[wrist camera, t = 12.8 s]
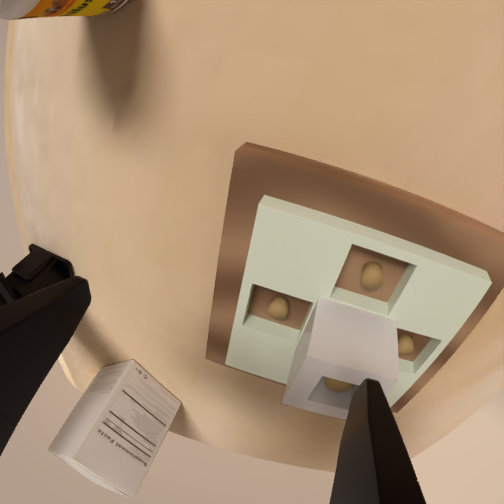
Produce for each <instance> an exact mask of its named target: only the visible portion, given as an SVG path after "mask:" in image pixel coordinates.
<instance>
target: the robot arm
mask: <svg viewBox="0 0 504 504" xmlns="http://www.w3.org/2000/svg"><path fill="white" fill-rule="evenodd" d="M29 251H30V254H28V255H27V256H26V257H25V258H24V259H22V260H21V261H20V262H19V263H18V264H17V265H15V266H14V267H13V268H12V272H11V273H10V274H9V275H8V276H7V277H6V278H5V276H4V274H3V273H2V272H1V273H0V456H1V454H2V452H3V450H4V448H5V446H6V444H7V443H8V441H9V439H10V437H11V435H12V433H13V431H14V430H15V427H16V426H17V424H18V422H19V421H20V419H21V417H22V415H23V414H24V412H25V410H26V409H27V407H28V405H29V403H30V402H31V400H32V398H33V397H34V395H35V393H36V392H37V390H38V388H39V387H40V385H41V384H42V382H43V381H44V379H45V377H46V376H47V374H48V373H49V371H50V370H51V368H52V366H53V365H54V363H55V362H56V360H57V359H58V357H59V356H60V354H61V353H62V351H63V350H64V348H65V347H66V345H67V344H68V342H69V341H70V339H71V337H72V336H73V334H74V332H75V330H76V328H77V326H78V325H79V323H80V321H81V319H82V317H83V316H84V314H85V312H86V310H87V308H88V307H89V305H90V302H91V294H90V289H89V284H88V281H87V280H86V279H84V278H82V277H80V276H74V277H73V274H72V270H71V265H70V263H69V262H68V261H67V260H66V259H64V258H61V257H59V256H57V255H55V254H53V253H51V252H49V251H46V250H44V249H42V248H40V247H38V246H36V245H34V244H31V245H30V246H29ZM330 504H426V502H425V499H424V496H423V493H422V491H421V488H420V485H419V482H417V477H416V474H415V471H414V469H413V466H412V463H411V460H410V457H409V455H408V452H407V449H406V447H405V444H404V441H403V439H402V436H401V434H400V431H399V429H398V426H397V423H396V421H395V418H394V416H393V413H392V411H391V408H390V406H389V404H388V401H387V399H386V396H385V394H384V391H383V389H382V387H381V384H380V382H379V381H377V380H374V379H370V378H366V379H364V380H363V382H362V383H361V384H360V385H359V387H358V388H357V389H356V390H355V392H354V394H353V396H352V399H351V403H350V407H349V411H348V415H347V419H346V423H345V427H344V431H343V435H342V439H341V443H340V448H339V454H338V461H337V467H336V472H335V478H334V483H333V489H332V494H331V499H330Z"/></svg>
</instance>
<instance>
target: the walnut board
mask: <svg viewBox="0 0 504 504" xmlns="http://www.w3.org/2000/svg"><path fill="white" fill-rule="evenodd" d="M264 195H267V196H270V197H274V198H277V199H280V200H284V201H287V202H291V203H294V204H297V205H300V206H304V207H307V208H310V209H313V210H317V211H320V212H323V213H326V214H329V215H333V216H336V217H339V218H342V219H345V220H348V221H351V222H354V223H357V224H360V225H363V226H366V227H369V228H372V229H375V230H378V231H381V232H384V233H387V234H389V235H392V236H395V237H398V238H401V239H404V240H406V241H409V242H412V243H415V244H418V245H420V246H423V247H426V248H428V249H431V250H434V251H437V252H439V253H442V254H445V255H447V256H450V257H452V258H455V259H458V260H460V261H463V262H465V263H468V264H470V265H473V266H475V267H478V268H480V269H483V270H485V271H487V273H488V275H489V277H490V279H491V282H492V284H491V286H490V287H489V289H488V290H487V292H486V293H485V295H484V296H483V298H482V299H481V301H480V302H479V303H478V305H477V306H476V308H475V309H474V310H473V312H472V313H471V315H470V316H469V317H468V319H467V320H466V321H465V323H464V324H463V325H462V327H461V328H460V329H459V331H458V332H457V333H456V335H455V336H454V337H453V338H452V340H451V341H450V342H449V343H448V345H447V346H446V347H445V348H444V350H443V351H442V352H441V353H440V354H439V356H438V357H437V358H436V359H435V360H434V361H433V363H432V364H431V365H430V366H429V367H428V368H427V369H426V371H425V372H424V373H423V374H422V375H421V376H420V377H419V378H418V379H417V381H416V382H415V383H414V384H413V385H412V386H411V387H410V388H409V389H408V390H407V391H406V392H405V393H404V394H403V395H402V396H401V397H400V398H399V399H398V400H397V401H396V402H395V403H394V404H393V405H392V406H391V407H390V408H391V411H392V412H396V413H397V412H398V411H399V410H400V409H401V408H403V407H404V406H405V405H406V404H407V403H408V402H409V401H410V400H411V399H412V398H413V397H414V396H415V395H416V394H417V393H418V392H419V391H420V390H421V389H422V388H423V387H424V386H425V385H426V384H427V383H428V381H429V380H430V379H431V378H432V377H433V376H434V375H435V374H436V373H437V372H438V371H439V370H440V368H441V367H442V366H443V365H444V364H445V363H446V362H447V361H448V359H449V358H450V357H451V356H452V355H453V354H454V352H455V351H456V350H457V349H458V348H459V346H460V345H461V344H462V343H463V342H464V340H465V339H466V338H467V337H468V335H469V334H470V333H471V332H472V330H473V329H474V328H475V326H476V325H477V324H478V322H479V321H480V320H481V318H482V317H483V316H484V314H485V313H486V312H487V310H488V309H489V308H490V306H491V305H492V303H493V302H494V300H495V299H496V298H497V296H498V295H499V293H500V292H501V290H502V289H503V287H504V233H502V232H500V231H498V230H496V229H494V228H492V227H490V226H488V225H486V224H483V223H481V222H479V221H477V220H475V219H472V218H470V217H468V216H466V215H463V214H461V213H459V212H457V211H454V210H452V209H449V208H447V207H445V206H442V205H440V204H437V203H435V202H433V201H430V200H428V199H425V198H422V197H420V196H417V195H415V194H412V193H410V192H407V191H404V190H402V189H399V188H396V187H393V186H391V185H388V184H385V183H382V182H380V181H377V180H374V179H371V178H368V177H365V176H362V175H359V174H356V173H353V172H350V171H347V170H344V169H341V168H338V167H334V166H331V165H328V164H325V163H321V162H318V161H315V160H311V159H308V158H305V157H301V156H298V155H294V154H290V153H287V152H283V151H279V150H276V149H272V148H268V147H264V146H260V145H256V144H252V143H248V142H246V143H245V144H243V145H242V146H241V147H240V148H238V149H237V150H236V151H235V156H234V162H233V168H232V174H231V180H230V187H229V193H228V199H227V206H226V212H225V219H224V225H223V232H222V238H221V245H220V252H219V259H218V266H217V273H216V280H215V288H214V295H213V303H212V310H211V318H210V326H209V333H208V341H207V350H206V358H205V359H208V360H210V361H213V362H216V363H219V364H221V365H224V366H227V367H230V368H233V369H236V370H239V371H241V372H244V373H247V374H250V375H254V376H257V377H260V378H263V379H266V380H269V381H272V382H276V383H279V384H282V385H286V384H284V383H280V382H277V381H274V380H271V379H267V378H264V377H261V376H258V375H255V374H252V373H249V372H246V371H243V370H240V369H237V368H234V367H231V366H228V365H226V364H225V361H226V357H227V352H228V347H229V342H230V337H231V333H232V328H233V323H234V318H235V314H236V309H237V304H238V299H239V294H240V290H241V285H242V280H243V275H244V271H245V266H246V261H247V256H248V252H249V247H250V242H251V238H252V233H253V228H254V223H255V219H256V214H257V209H258V204H259V202H260V201H261V199H262V198H263V196H264ZM408 264H409V263H408V262H405V261H402V260H399V259H396V258H393V257H390V256H387V255H384V254H382V253H379V252H376V251H373V250H370V249H366V248H363V247H360V246H357V245H354V244H352V245H351V248H350V250H349V253H348V255H347V257H346V260H345V262H344V265H343V267H342V269H341V272H340V274H339V276H338V279H337V281H336V283H335V287H338V288H342V289H345V290H348V291H351V292H354V293H358V294H361V295H364V296H367V297H371V298H374V299H377V300H380V301H383V302H388V300H389V299H390V297H391V295H392V294H393V292H394V290H395V288H396V286H397V285H398V283H399V281H400V279H401V277H402V275H403V274H404V272H405V270H406V268H407V266H408ZM310 305H311V302H309V301H306V300H303V299H300V298H297V297H293V296H290V295H287V294H284V293H281V292H278V291H274V290H271V289H268V288H265V287H262V286H259V285H256V284H254V288H253V292H252V296H251V300H250V304H249V308H248V312H247V314H250V315H253V316H257V317H260V318H263V319H266V320H269V321H272V322H275V323H278V324H281V325H285V326H288V327H291V328H294V329H297V330H300V328H301V326H302V324H303V321H304V319H305V317H306V314H307V312H308V309H309V307H310ZM397 339H398V358H400V359H404V360H408V361H412V362H413V361H414V360H415V359H416V358H417V356H418V355H419V354H420V353H421V351H422V350H423V349H424V348H425V346H426V345H427V344H428V342H429V341H430V340H431V339H432V338H431V337H428V336H424V335H421V334H417V333H414V332H410V331H407V330H403V329H400V328H397ZM324 385H325V387H326V388H327V389H329V390H331V391H334V392H345V391H348V390H350V389H351V388H352V386H353V384H351V383H347V382H343V381H339V380H336V379H332V378H328V377H325V382H324Z"/></svg>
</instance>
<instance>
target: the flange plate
mask: <svg viewBox="0 0 504 504" xmlns="http://www.w3.org/2000/svg"><path fill="white" fill-rule="evenodd" d="M352 244H354V245H357V246H360V247H363V248H366V249H370V250H373V251H376V252H379V253H382V254H384V255H387V256H390V257H393V258H396V259H399V260H402V261H405V262H408V263H409V264H408V266H407V268H406V270H405V272H404V274H403V275H402V277H401V279H400V281H399V283H398V285H397V286H396V288H395V290H394V292H393V294H392V295H391V297H390V299H389V300H388V302H383V301H380V300H377V299H374V298H371V297H367V296H364V295H361V294H358V293H354V292H351V291H348V290H345V289H342V288H338V287H335V283H336V281H337V279H338V276H339V274H340V272H341V269H342V267H343V265H344V262H345V260H346V257H347V255H348V253H349V250H350V248H351V245H352ZM254 284H256V285H259V286H262V287H265V288H268V289H271V290H274V291H278V292H281V293H284V294H287V295H290V296H293V297H297V298H300V299H303V300H306V301H309V302H311V305H310V307H309V309H308V312H307V314H306V317H305V319H304V321H303V324H302V326H301V328H300V330H297V329H294V328H291V327H288V326H285V325H281V324H278V323H275V322H272V321H269V320H266V319H263V318H260V317H257V316H253V315H250V314H247V312H248V308H249V304H250V300H251V296H252V292H253V288H254ZM491 284H492V282H491V279H490V277H489V275H488V273H487V271H485V270H483V269H480V268H478V267H475V266H473V265H470V264H468V263H465V262H463V261H460V260H458V259H455V258H452V257H450V256H447V255H445V254H442V253H439V252H437V251H434V250H431V249H428V248H426V247H423V246H420V245H418V244H415V243H412V242H409V241H406V240H404V239H401V238H398V237H395V236H392V235H389V234H387V233H384V232H381V231H378V230H375V229H372V228H369V227H366V226H363V225H360V224H357V223H354V222H351V221H348V220H345V219H342V218H339V217H336V216H333V215H329V214H326V213H323V212H320V211H317V210H313V209H310V208H307V207H304V206H300V205H297V204H294V203H291V202H287V201H284V200H280V199H277V198H274V197H270V196H267V195H264V196H263V198H262V199H261V201H260V202H259V204H258V209H257V214H256V219H255V223H254V228H253V233H252V238H251V242H250V247H249V252H248V256H247V261H246V266H245V271H244V275H243V280H242V285H241V290H240V294H239V299H238V304H237V309H236V314H235V318H234V323H233V328H232V333H231V337H230V342H229V347H228V352H227V357H226V361H225V364H226V365H228V366H231V367H234V368H237V369H240V370H243V371H246V372H249V373H252V374H255V375H258V376H261V377H264V378H267V379H271V380H274V381H277V382H280V383H284V384H286V388H285V392H284V395H283V399H282V403H281V404H285V405H288V406H292V407H295V408H299V409H303V410H306V411H310V412H314V413H318V414H322V415H326V416H330V417H334V418H338V419H343V420H346V419H347V415H348V411H349V407H350V403H351V399H352V396H353V394H354V392H355V390H356V389H357V388H358V387H359V385H360V384H361V383H362V382H363V380H364V379H366V378H370V379H374V380H377V381H379V382H380V384H381V387H382V389H383V391H384V394H385V396H386V399H387V401H388V404H389V406H390V407H391V406H392V405H393V404H394V403H395V402H396V401H397V400H398V399H399V398H400V397H401V396H402V395H403V394H404V393H405V392H406V391H407V390H408V389H409V388H410V387H411V386H412V385H413V384H414V383H415V382H416V381H417V379H418V378H419V377H420V376H421V375H422V374H423V373H424V372H425V371H426V369H427V368H428V367H429V366H430V365H431V364H432V363H433V361H434V360H435V359H436V358H437V357H438V356H439V354H440V353H441V352H442V351H443V350H444V348H445V347H446V346H447V345H448V343H449V342H450V341H451V340H452V338H453V337H454V336H455V335H456V333H457V332H458V331H459V329H460V328H461V327H462V325H463V324H464V323H465V321H466V320H467V319H468V317H469V316H470V315H471V313H472V312H473V310H474V309H475V308H476V306H477V305H478V303H479V302H480V301H481V299H482V298H483V296H484V295H485V293H486V292H487V290H488V289H489V287H490V286H491ZM397 328H400V329H403V330H407V331H410V332H414V333H417V334H421V335H424V336H428V337H431V338H432V339H431V340H430V341H429V342H428V344H427V345H426V346H425V348H424V349H423V350H422V351H421V353H420V354H419V355H418V356H417V358H416V359H415V360H414V361H413V362H412V361H408V360H404V359H400V358H398V339H397ZM325 377H328V378H332V379H336V380H339V381H343V382H347V383H351V384H353V386H352V388H351V389H350V390H348V391H345V392H334V391H331V390H329V389H327V388H326V387H325V385H324V382H325Z"/></svg>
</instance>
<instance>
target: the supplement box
mask: <svg viewBox="0 0 504 504" xmlns="http://www.w3.org/2000/svg"><path fill="white" fill-rule="evenodd" d="M180 405H181V402H180V401H179V400H178V399H177V398H176V397H174V396H173V395H172V394H171V393H170V392H169V391H168V390H166V389H165V388H164V387H163V386H162V385H161V384H160V383H159V382H157V381H156V380H155V379H154V378H153V377H152V376H151V375H150V374H149V373H148V372H146V371H145V370H144V369H143V368H142V367H141V366H140V365H139V364H138V363H137V362H136V361H135V360H129V361H126V362H122V363H118V364H114V365H110V366H106V367H102V368H101V369H100V371H99V372H98V374H97V375H96V377H95V378H94V379H93V381H92V382H91V384H90V385H89V387H88V388H87V390H86V391H85V393H84V394H83V396H82V397H81V399H80V400H79V402H78V403H77V405H76V406H75V408H74V409H73V411H72V412H71V414H70V415H69V417H68V418H67V420H66V421H65V423H64V424H63V426H62V428H61V429H60V431H59V432H58V434H57V435H56V437H55V438H54V440H53V442H52V443H51V445H50V446H49V448H48V450H49V451H50V452H51V453H53V454H54V455H55V456H57V457H58V458H59V459H61V460H62V461H64V462H65V463H67V464H68V465H69V466H71V467H72V468H73V469H75V470H76V471H78V472H79V473H81V474H82V475H83V476H85V477H86V478H88V479H89V480H90V481H92V482H94V483H95V484H98V485H99V486H102V487H104V488H106V489H109V490H111V491H114V492H116V493H119V494H121V495H123V496H126V497H129V498H131V499H134V498H135V496H136V494H137V492H138V490H139V488H140V486H141V484H142V481H143V480H144V477H145V476H146V474H147V472H148V470H149V468H150V466H151V463H152V462H153V459H154V458H155V455H156V454H157V452H158V450H159V448H160V445H161V443H162V442H163V440H164V437H165V435H166V433H167V432H168V429H169V427H170V425H171V423H172V421H173V419H174V417H175V415H176V413H177V411H178V409H179V407H180Z"/></svg>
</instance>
